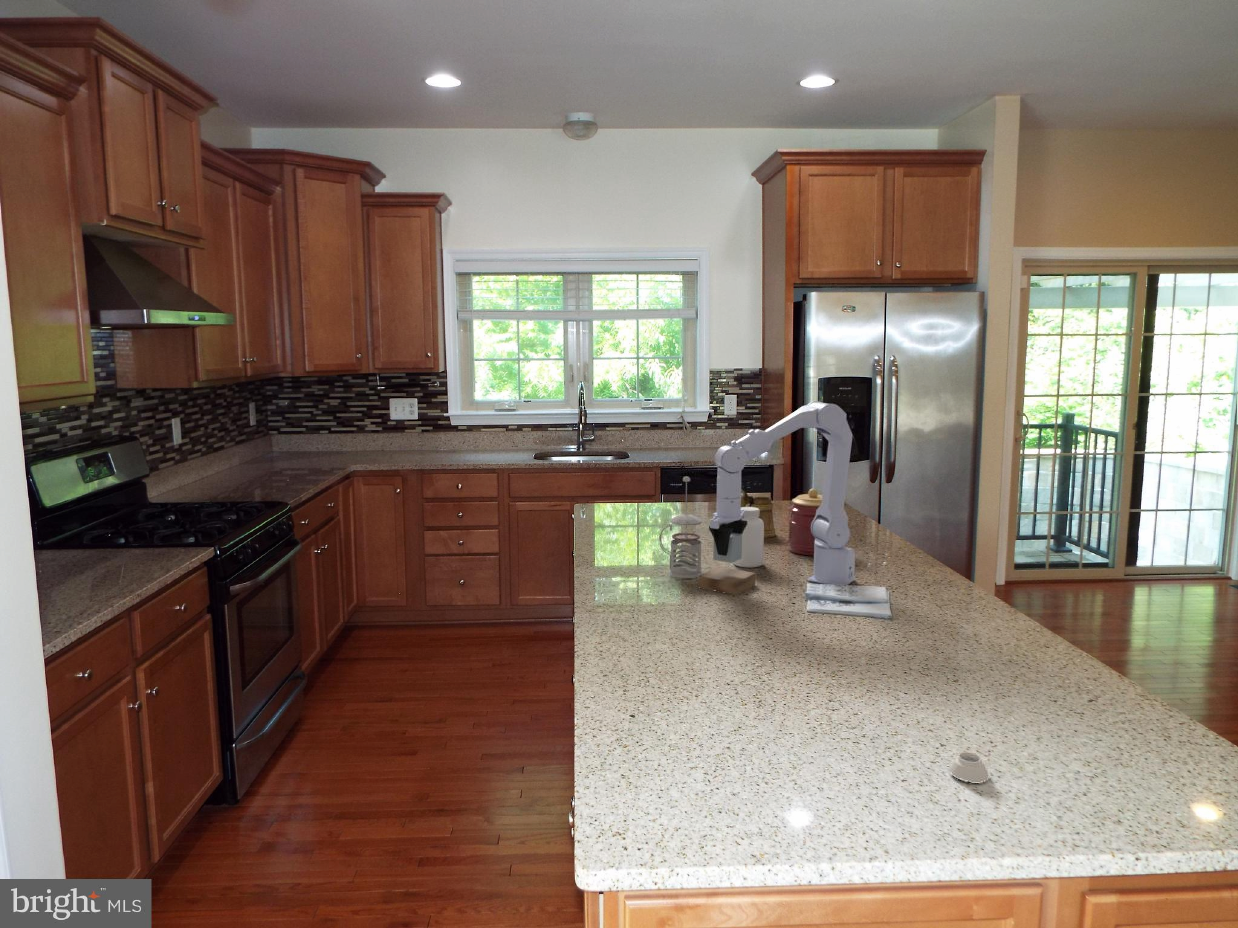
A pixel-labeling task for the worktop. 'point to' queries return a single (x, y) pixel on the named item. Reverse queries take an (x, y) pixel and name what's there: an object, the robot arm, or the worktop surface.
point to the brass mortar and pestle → (761, 511)
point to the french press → (684, 547)
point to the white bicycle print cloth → (848, 600)
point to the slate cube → (730, 549)
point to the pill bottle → (752, 539)
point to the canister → (803, 522)
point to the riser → (727, 580)
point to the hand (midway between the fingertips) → (727, 552)
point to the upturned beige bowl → (969, 767)
